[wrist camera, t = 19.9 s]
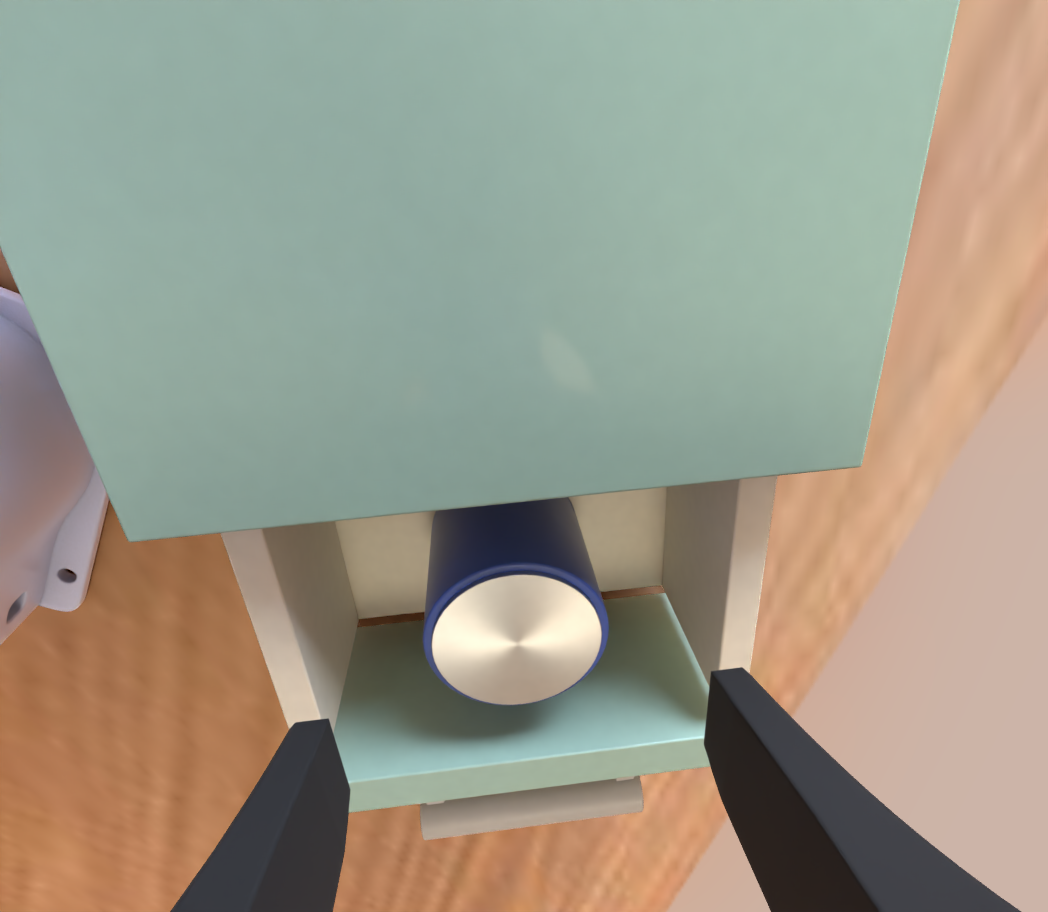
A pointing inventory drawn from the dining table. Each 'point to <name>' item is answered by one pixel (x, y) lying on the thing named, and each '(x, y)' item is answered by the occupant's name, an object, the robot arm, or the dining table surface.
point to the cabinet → (459, 242)
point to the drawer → (519, 730)
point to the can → (512, 602)
